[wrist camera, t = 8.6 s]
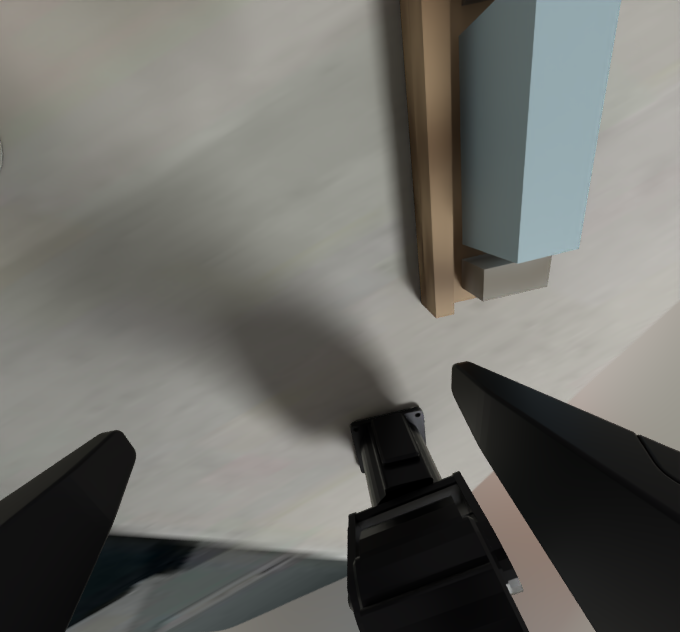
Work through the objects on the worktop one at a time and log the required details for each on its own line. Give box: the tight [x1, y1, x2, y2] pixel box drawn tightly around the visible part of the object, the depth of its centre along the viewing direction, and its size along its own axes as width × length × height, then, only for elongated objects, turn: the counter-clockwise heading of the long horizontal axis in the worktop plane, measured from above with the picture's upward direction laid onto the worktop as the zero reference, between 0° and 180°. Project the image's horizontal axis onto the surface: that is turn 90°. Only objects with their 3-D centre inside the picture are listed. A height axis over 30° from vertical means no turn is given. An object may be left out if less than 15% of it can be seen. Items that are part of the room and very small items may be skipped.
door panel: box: [459, 0, 621, 264], centre depth 13 cm, size 10×4×5 cm, turn 12°
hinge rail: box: [400, 0, 552, 318], centre depth 14 cm, size 18×8×4 cm, turn 11°
